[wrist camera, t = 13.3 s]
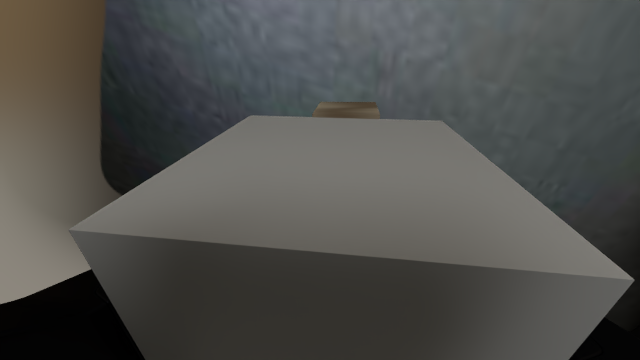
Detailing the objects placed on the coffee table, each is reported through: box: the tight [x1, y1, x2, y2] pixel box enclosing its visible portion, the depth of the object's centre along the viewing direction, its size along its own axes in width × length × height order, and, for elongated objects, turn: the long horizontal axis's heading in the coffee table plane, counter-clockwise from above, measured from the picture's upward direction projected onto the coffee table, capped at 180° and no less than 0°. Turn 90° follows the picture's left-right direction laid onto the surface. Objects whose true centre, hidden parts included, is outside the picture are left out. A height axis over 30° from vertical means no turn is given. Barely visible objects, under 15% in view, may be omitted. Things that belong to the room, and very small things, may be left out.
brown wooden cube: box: [312, 102, 380, 119], centre depth 18 cm, size 4×4×4 cm
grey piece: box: [69, 116, 634, 360], centre depth 7 cm, size 7×7×6 cm
